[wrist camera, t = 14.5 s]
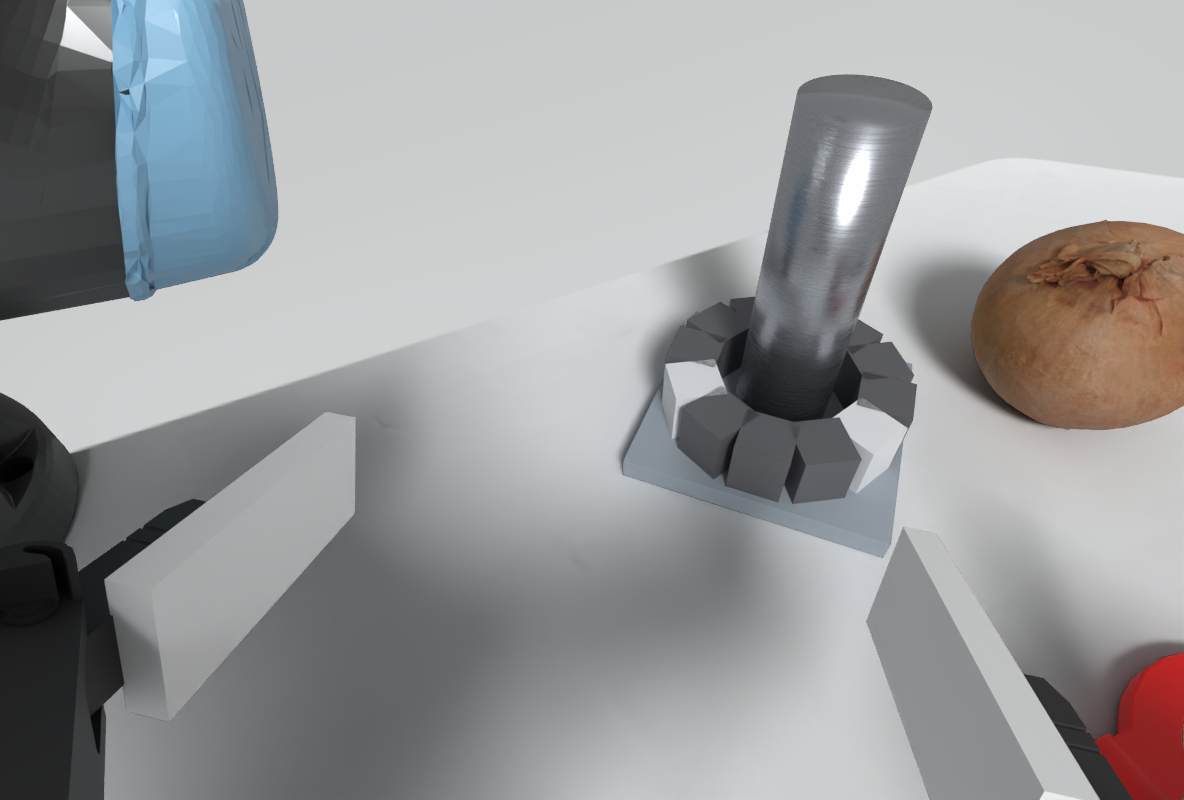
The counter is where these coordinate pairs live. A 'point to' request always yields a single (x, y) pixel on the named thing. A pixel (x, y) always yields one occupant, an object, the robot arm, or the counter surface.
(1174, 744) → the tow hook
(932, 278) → the counter surface
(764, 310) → the steel rod
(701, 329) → the chuck
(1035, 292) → the onion
